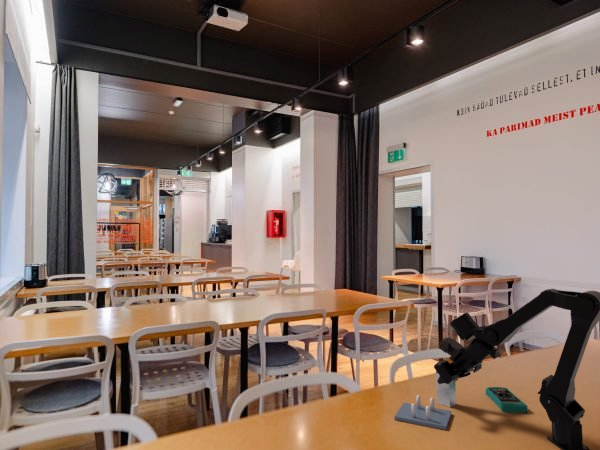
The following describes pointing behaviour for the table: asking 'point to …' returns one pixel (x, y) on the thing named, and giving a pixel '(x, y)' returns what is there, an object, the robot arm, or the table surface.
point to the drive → (445, 393)
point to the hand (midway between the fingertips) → (441, 381)
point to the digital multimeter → (506, 400)
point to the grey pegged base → (423, 414)
